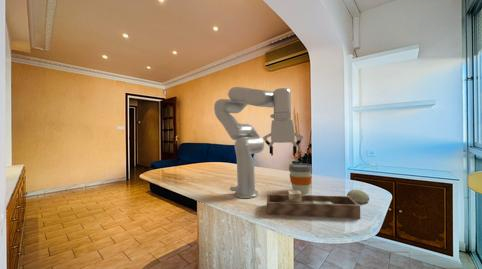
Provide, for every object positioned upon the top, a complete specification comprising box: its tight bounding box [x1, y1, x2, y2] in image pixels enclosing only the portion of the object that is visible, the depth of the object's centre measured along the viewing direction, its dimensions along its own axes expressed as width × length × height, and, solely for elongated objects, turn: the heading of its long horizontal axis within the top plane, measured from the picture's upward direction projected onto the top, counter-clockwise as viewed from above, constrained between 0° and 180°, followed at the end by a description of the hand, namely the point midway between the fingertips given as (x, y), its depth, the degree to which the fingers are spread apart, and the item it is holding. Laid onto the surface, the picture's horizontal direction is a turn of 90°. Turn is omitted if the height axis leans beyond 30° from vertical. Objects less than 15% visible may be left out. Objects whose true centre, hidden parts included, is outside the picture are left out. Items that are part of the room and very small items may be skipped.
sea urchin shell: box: [346, 189, 370, 204], centre depth 96 cm, size 9×8×8 cm
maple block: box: [288, 189, 303, 203], centre depth 86 cm, size 5×5×5 cm
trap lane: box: [266, 193, 361, 219], centre depth 85 cm, size 36×11×5 cm, turn 81°
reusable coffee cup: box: [288, 162, 313, 195], centre depth 112 cm, size 13×13×15 cm
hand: (282, 155), depth 88 cm, fingers open, 9 cm apart
